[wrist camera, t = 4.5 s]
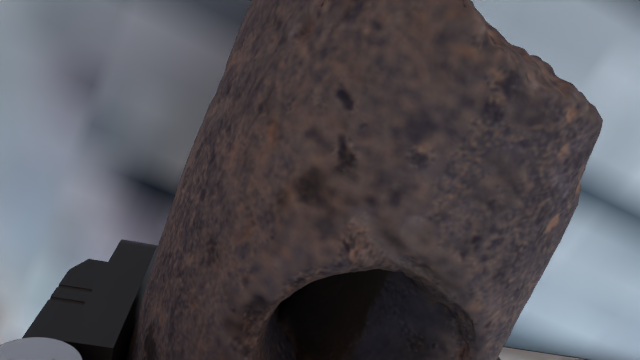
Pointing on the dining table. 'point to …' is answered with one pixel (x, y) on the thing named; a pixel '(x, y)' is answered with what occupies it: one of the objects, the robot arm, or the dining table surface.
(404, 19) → the perforated stone tool
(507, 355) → the tray
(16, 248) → the dining table surface
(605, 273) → the dining table surface
